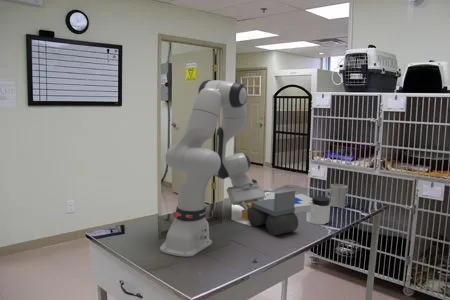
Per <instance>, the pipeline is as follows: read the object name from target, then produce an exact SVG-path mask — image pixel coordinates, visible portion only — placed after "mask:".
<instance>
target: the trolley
mask: <svg viewBox="0 0 450 300" xmlns="http://www.w3.org/2000/svg"><path fill="white" fill-rule="evenodd" d="M295 194H296V190H295V189H290V190H289V189H288V190H285V191H284V190H283V191H277V193H275V199H274V200H272V199H267V200H262V201H254V202H250V203H251V207H250V208H249V210H248V214H247V215H248V220H249V221H248V220H247V221H248V222H249V224H250V225H251V226H253V227H258V226H263V225H266V230H267V231H268V232H269V234H270V235H271V236H276V237H277V236H280V235H283V234H287V233H290V232H294V231H296V230H297V229H298V228H299V227H298V226H299V219H298V216H297V214H296V213H294V212H295V208H294V204H295Z"/></svg>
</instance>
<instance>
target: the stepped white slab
mask: <svg viewBox="0 0 450 300" xmlns="http://www.w3.org/2000/svg"><path fill="white" fill-rule="evenodd" d="M277 192H278V191H277ZM277 192H267V193H265V198H264V199H263V200H267V199H272V200H274V199H275V193H277ZM312 198H313V197H310V196H308V195H305V194H303V193H299V194H296V193H295V204H294V208H295V212H294V213H295V214H301V213H311V212H310V211H311V203H312ZM261 201H262V200H261Z"/></svg>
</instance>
